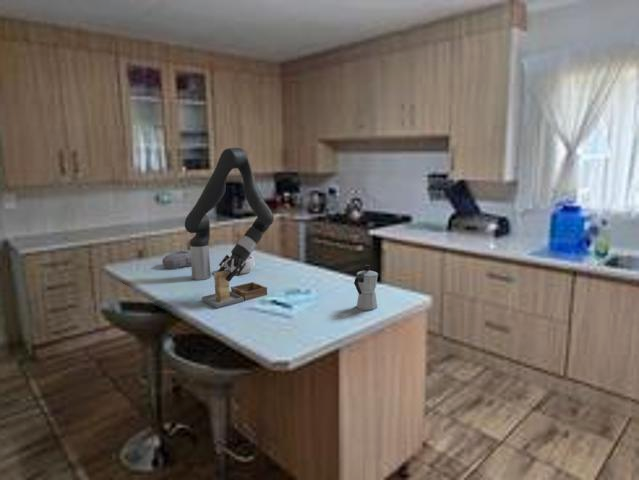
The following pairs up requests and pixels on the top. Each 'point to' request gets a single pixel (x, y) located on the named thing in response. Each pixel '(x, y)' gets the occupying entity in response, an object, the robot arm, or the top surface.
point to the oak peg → (221, 286)
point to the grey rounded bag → (177, 260)
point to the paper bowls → (247, 265)
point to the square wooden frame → (256, 290)
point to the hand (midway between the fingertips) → (222, 278)
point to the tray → (217, 304)
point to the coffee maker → (366, 289)
